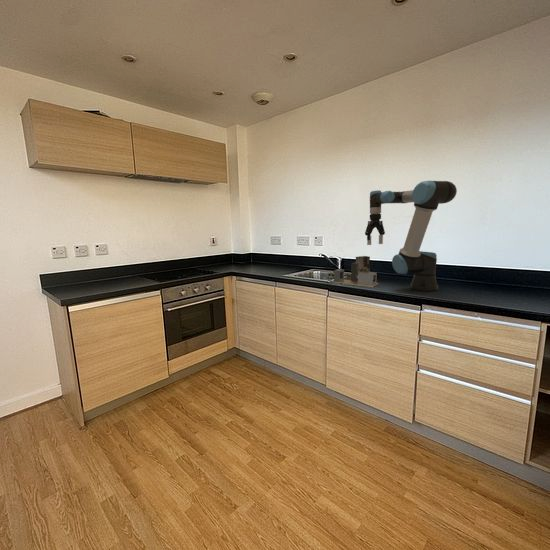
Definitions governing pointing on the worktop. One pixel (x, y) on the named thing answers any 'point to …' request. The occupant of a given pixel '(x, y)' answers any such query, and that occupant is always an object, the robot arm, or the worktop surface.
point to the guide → (363, 280)
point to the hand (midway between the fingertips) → (375, 244)
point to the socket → (339, 275)
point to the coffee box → (363, 263)
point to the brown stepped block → (354, 272)
